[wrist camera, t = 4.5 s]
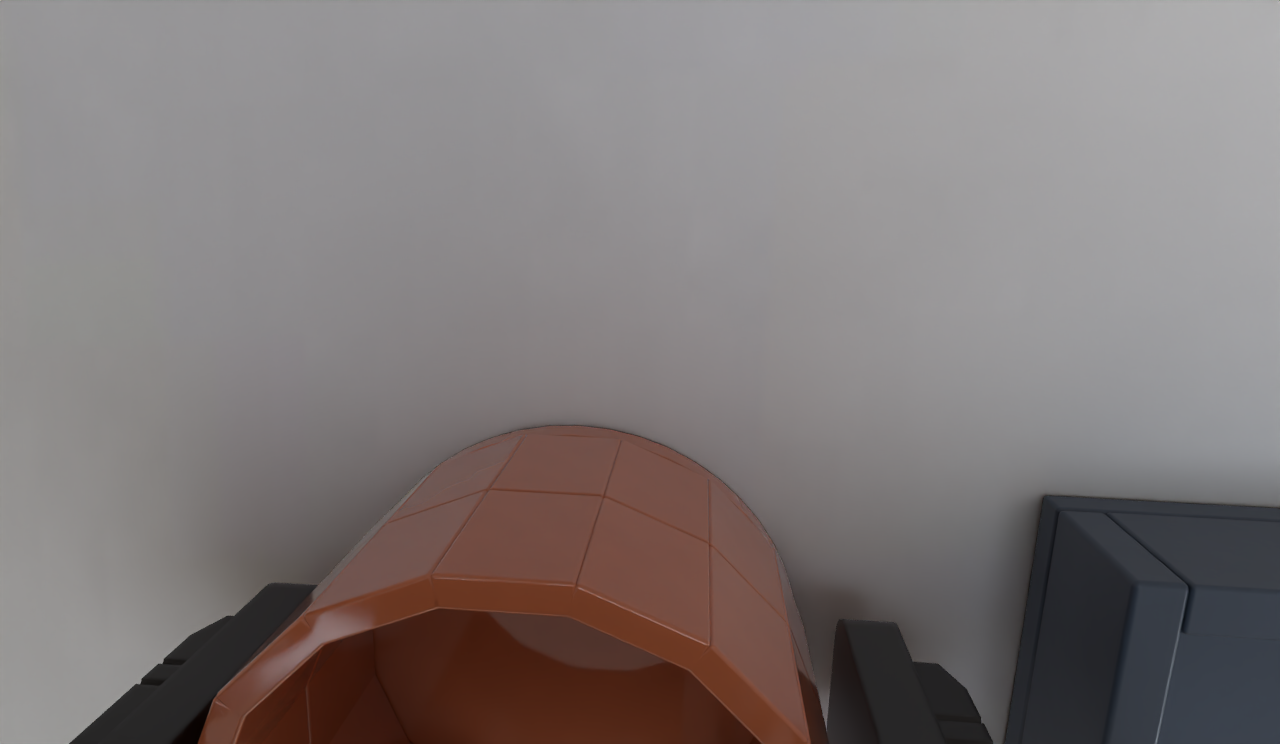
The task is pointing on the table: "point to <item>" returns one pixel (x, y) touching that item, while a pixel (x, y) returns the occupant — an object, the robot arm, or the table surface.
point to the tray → (1150, 625)
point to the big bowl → (542, 613)
